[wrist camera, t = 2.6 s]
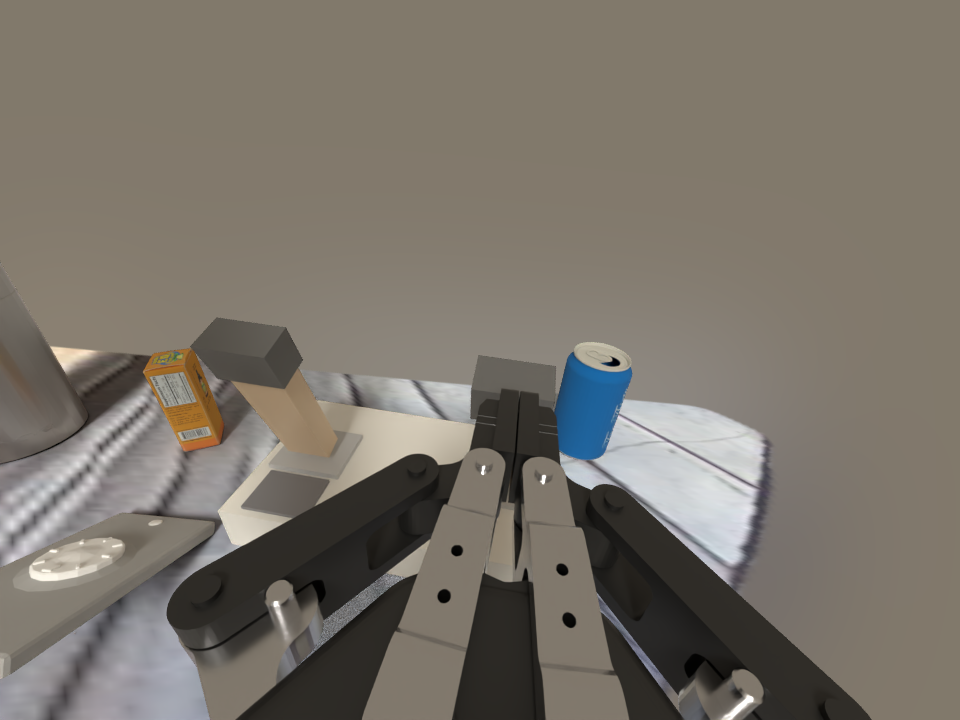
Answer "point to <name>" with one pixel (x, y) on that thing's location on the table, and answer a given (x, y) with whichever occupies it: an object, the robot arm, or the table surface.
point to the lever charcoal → (268, 381)
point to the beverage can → (591, 399)
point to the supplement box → (185, 398)
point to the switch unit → (354, 476)
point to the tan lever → (511, 381)
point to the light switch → (84, 578)
